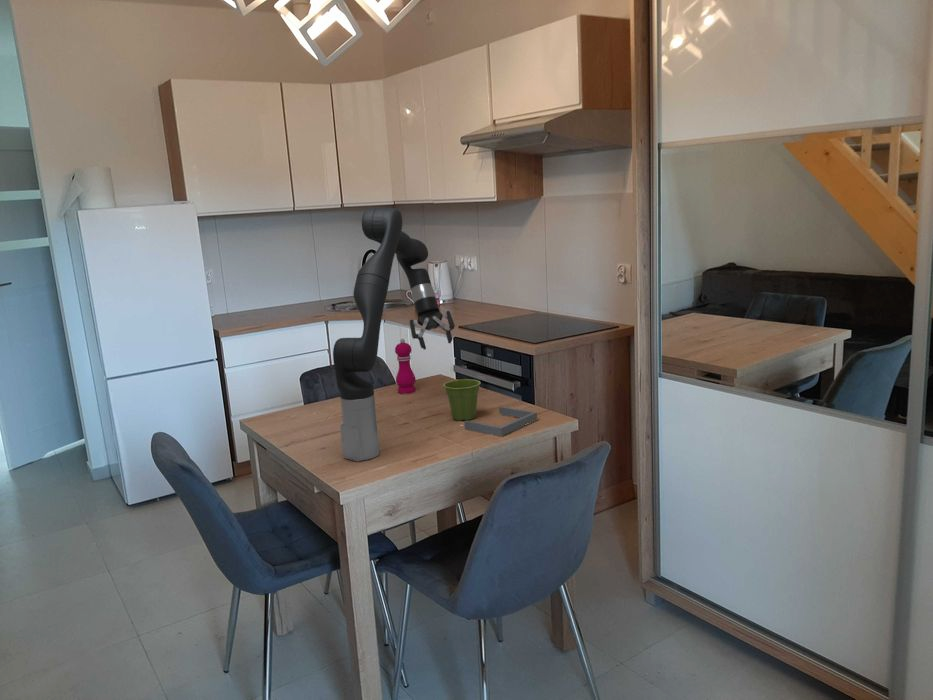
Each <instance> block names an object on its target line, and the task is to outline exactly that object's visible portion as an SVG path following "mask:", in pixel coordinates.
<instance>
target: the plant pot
mask: <svg viewBox="0 0 933 700" xmlns="http://www.w3.org/2000/svg"><path fill="white" fill-rule="evenodd" d="M480 385H481V381H480V380H477V379H471V378H470V379H469V378H468V379H465V378H463V379H455V380H449V381H446V382H445V383H443V387H444V389H445V393H446V394H447V397H448V402H449V406H450V410H451V411H450V412H451V415H452V419H454V420H455V421H463V420H464V421H466V420H467V421H470V420H472V419H474V418H476V416H477V404H478V396H479V395H478V394H479V393H478V392H479V390H480V387H479V386H480Z"/></svg>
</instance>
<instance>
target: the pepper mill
mask: <svg viewBox="0 0 933 700" xmlns="http://www.w3.org/2000/svg"><path fill="white" fill-rule="evenodd" d="M399 342H400V343H398V344H396V346H395V347H394V353H395V354H396V358H397V359H396V360H397V361H398V370H397V371H398V372H397V373H396V377H395V383H396V385H397V386H398V387H397V393H398V392H399V393H398V394H400V393H409V394H413V393H415V392H416V386H415V383H416V381H417V380H416V376H415V373H414V371H413V370H412V367H411V363H410V362H411V360H412V358H411V356H412V355H410V354H411V353H412V347H411V344H409V343H408V342H406V341H405V339H404V338H401V339H400V340H399ZM414 391H415V392H414ZM412 392H413V393H412Z"/></svg>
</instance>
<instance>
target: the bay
mask: <svg viewBox="0 0 933 700" xmlns="http://www.w3.org/2000/svg"><path fill="white" fill-rule="evenodd" d="M498 412H499V413H498V414H502V415H501V416H505V415H507V417H510V416H514V417H513V418H516V417H521V418H516V420H514V421H511V422H509V423H506V424H504V425H501V426H497V425H493V424H492V425H491V424H486V423H481V422H477V421H472V420H471V421H470V420H464V422H463V423H464V430H466V431H467V430H468V431H471V430H472V432H477V433H481V432H482V434H487V435H491V434H493V435H492V436H495V435H498V436H497V437H500V436H502V437H504V436H506V435H508V434H507V433H509V432H511V433H513V432H515V431H517V430H519V429H521V428H523V427H522V426H523V425H525V424H527V423H530V422H532V421H534V420H536V419H537V420H538V412H537V411H532V410H524V409H518V408H513V407H508V406H498ZM534 422H535V421H534ZM532 423H533V422H532ZM530 424H531V423H530ZM520 427H521V428H520ZM518 428H519V429H518ZM516 429H517V430H516ZM514 430H515V431H514ZM512 431H513V432H512ZM505 434H506V435H505ZM509 434H510V433H509ZM503 435H504V436H503Z"/></svg>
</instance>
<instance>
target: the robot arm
mask: <svg viewBox="0 0 933 700" xmlns="http://www.w3.org/2000/svg"><path fill="white" fill-rule="evenodd" d="M361 229H362V233H363V234H364V236H365V237H366V238H367V239H368V240H370V241H374V242H377V243H378V244H380V246H378V249H377V250H376V251H375V252H374V253H373V255H371V256H370V258H369V259H368V260H367V261H365V262H364V264H362V266H361V268H360V269H359V270H358V271H357V275H356V280H355V283H354V287H353V288H354V289H353V294H352V296H353V299H354V302H355V305H356V308H357V310H358V311H359V313H360V316H361V317H362V322H363V330H362V334H361V337H340V338H338V339H337V340H335V343H334V345H333V350H332V359H333V360H332V361H333V366H334V367H333V368H334V373H335V379H336V387H337V389H338V391H339V398H340V406H341V407H340V408H341V419H342V424H340V426H339V429H340V437H341V438H340V439H341V446H342V447H341V448H342V457H343V459H346V460H350V461H354V462H358V463H359V462H362V461H367V460H371V459H374V458H376V457H378V456H379V455H380V443H379V434H378V433H379V432H378V431H379V430H378V421H377V411H376V410H377V409H376V400H375V399H376V398H375V390H374V389H375V388H374V385H373V383H372V382H370V381H368V380H366V379H363V378H362V377H360V376H359V375H358V374H357V373H358V372H359V373H365V372H366V373H367V372H371V371H372V370H373V369H374V368H375V364H376V362H377V357H378V352H379V342H380V331H381V325H382V319H383V313H384V309H385V303H386V299H387V295H388V291H389V285H390V277H391V273H392V267H393V263H394V259H395V257H396V259H397V262H398V263H399V264H400V266H401V268H402V270H403V271H404V273H405V276H406V278H407V280H408V284H409V287H410V290H411V298H412V303H413V305H414V308H415V309H414V310H415V312H416V316H417V319H410V320H409V328H410V332H411V338H412V339H413V340H415V339H417V340H418V341H419V346H420V348H421V349H423V350H427V347H426V343H425V340H424V339H425V338H424V337H423V336H424V334H425V331H426V330H427V331H430V330H434V329H437V328H439V329H441V330H443V331H444V332H445V335H446V338H447V339H446V340H447V343H448V344H451V343H452V342H453V336H452V332H451V331H453V330H454V329H455V323H454V320H453V317H452V314H451V311H450V310H447V311H445V312H441V311H440V308H439V307H440V306H439V304H438V299H437V296H436V294H435V289H434V288H433V285H432V283H431V279H430V275H429V272H428V270H427V269H426V268H419V267H418V268H412V266H415V265H417V264H421V263H424V262H425V261H426V260H427V259H428V257H429V250H428V248H427V246H426V244H425V243H424V242H422V241H421V240H419V239H416V238H412V237H410V235H409V234H407V233H406V232H404V231H403V215H402V213H401V211H400V210H399V209H398V208H392V207H388V208H381V207H380V208H376V207H374V208H368V209H366V210H365V211H364V212H363V214H362V217H361ZM443 318H444V319H445V320H447V322H448V325H446V324H445V322H444V321H442V319H443ZM417 324H418V325H420V326H421V328H420V331H419V333H416V332H417V331H416V327H417ZM356 372H357V373H356Z"/></svg>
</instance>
